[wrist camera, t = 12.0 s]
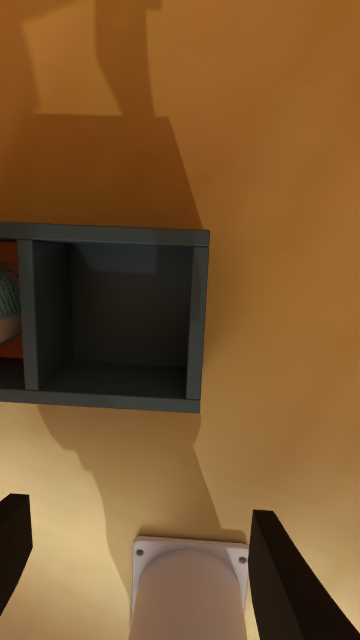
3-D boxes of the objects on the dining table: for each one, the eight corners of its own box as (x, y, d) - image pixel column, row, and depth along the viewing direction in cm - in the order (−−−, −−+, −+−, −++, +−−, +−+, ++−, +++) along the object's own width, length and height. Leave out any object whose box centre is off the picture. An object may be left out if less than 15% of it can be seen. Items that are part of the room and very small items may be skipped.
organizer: (198, 375, 20) (199, 413, 15) (-53, 361, 21) (-130, 394, 16) (206, 236, 19) (210, 229, 14) (-67, 226, 19) (-157, 215, 14)
